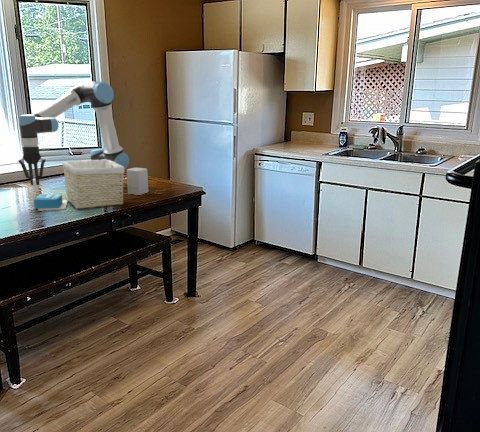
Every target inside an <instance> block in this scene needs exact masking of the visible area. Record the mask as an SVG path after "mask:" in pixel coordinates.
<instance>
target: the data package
mask: <svg viewBox="0 0 480 432" xmlns="http://www.w3.org/2000/svg"><path fill="white" fill-rule="evenodd" d="M62 200H63V194H61V193H53V194H52V193H51V194H45V193H44V194H38V195H37V196H36V197H34V199H33V206H34V208H35V209H39V208H58V207H59V206H60V205H61V204H62V203H63V201H62Z"/></svg>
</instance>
